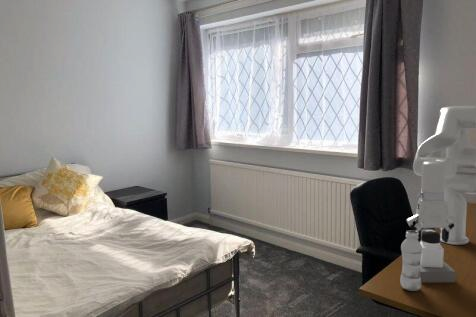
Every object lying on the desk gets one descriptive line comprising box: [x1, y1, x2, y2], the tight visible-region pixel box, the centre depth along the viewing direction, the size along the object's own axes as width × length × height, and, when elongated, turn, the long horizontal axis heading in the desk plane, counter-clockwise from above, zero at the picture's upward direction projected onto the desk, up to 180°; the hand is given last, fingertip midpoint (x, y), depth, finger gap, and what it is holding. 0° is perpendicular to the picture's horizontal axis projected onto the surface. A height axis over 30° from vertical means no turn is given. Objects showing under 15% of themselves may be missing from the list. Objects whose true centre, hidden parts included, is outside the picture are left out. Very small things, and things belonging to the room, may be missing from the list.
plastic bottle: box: [399, 229, 423, 292], centre depth 130 cm, size 6×7×20 cm
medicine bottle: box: [420, 229, 445, 268], centre depth 140 cm, size 7×7×12 cm
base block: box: [420, 261, 457, 283], centre depth 141 cm, size 13×12×4 cm
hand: (430, 241), depth 140 cm, fingers open, 9 cm apart
